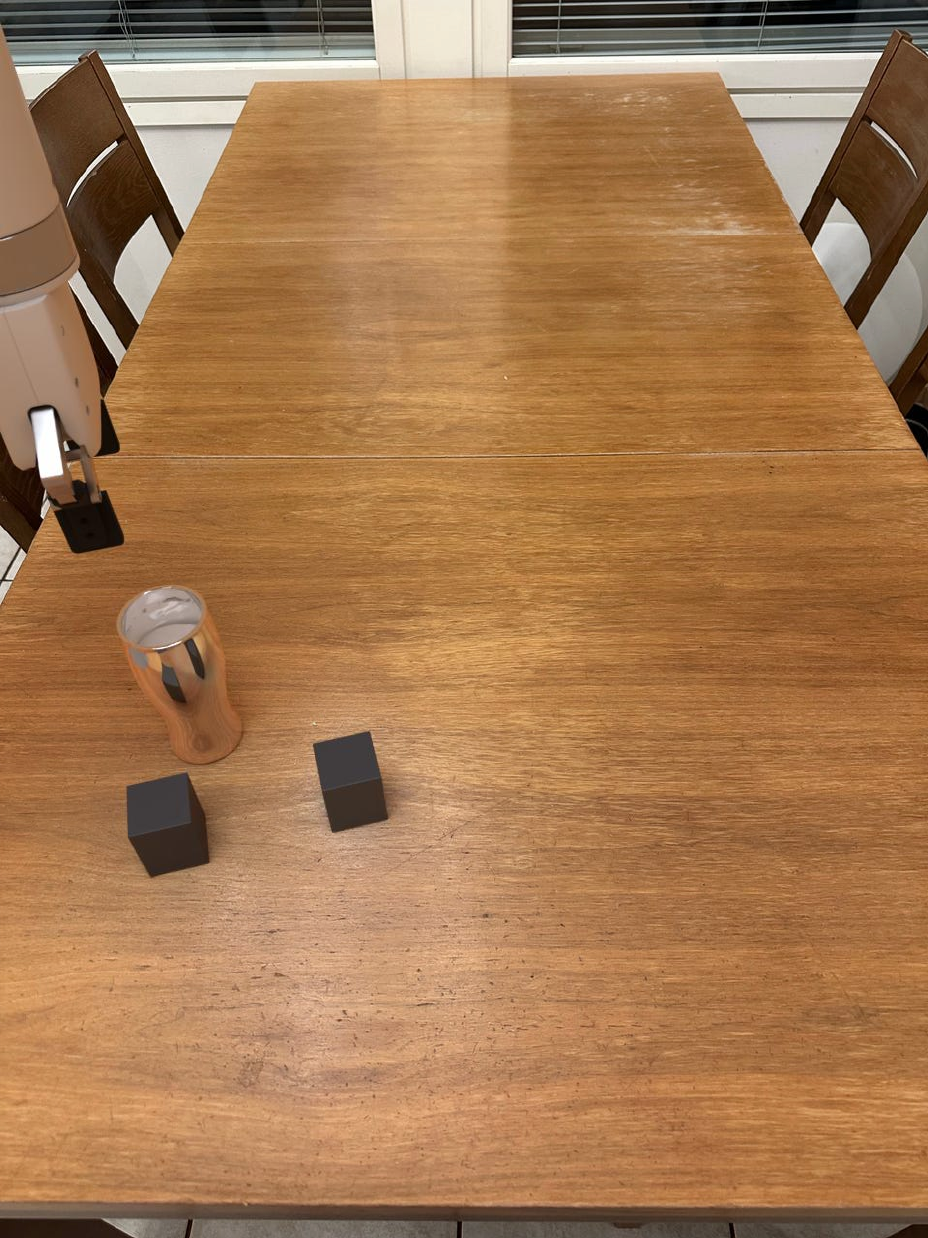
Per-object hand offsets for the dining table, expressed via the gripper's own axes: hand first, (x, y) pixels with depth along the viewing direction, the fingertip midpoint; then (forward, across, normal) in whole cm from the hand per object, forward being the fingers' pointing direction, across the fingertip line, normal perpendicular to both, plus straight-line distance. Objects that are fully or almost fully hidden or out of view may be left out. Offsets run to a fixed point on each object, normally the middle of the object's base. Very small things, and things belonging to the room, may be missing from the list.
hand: (98, 498), depth 62 cm
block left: (+26, +11, -2) cm, 28 cm away
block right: (+26, +11, +12) cm, 31 cm away
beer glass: (+26, +1, +1) cm, 26 cm away
